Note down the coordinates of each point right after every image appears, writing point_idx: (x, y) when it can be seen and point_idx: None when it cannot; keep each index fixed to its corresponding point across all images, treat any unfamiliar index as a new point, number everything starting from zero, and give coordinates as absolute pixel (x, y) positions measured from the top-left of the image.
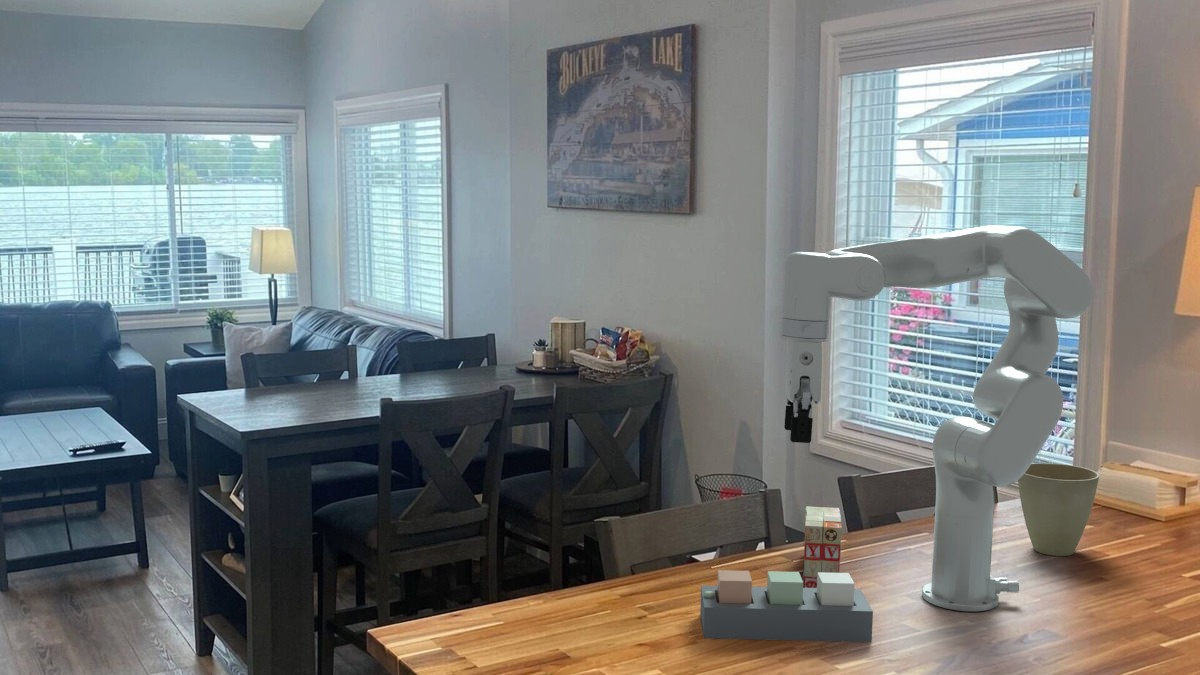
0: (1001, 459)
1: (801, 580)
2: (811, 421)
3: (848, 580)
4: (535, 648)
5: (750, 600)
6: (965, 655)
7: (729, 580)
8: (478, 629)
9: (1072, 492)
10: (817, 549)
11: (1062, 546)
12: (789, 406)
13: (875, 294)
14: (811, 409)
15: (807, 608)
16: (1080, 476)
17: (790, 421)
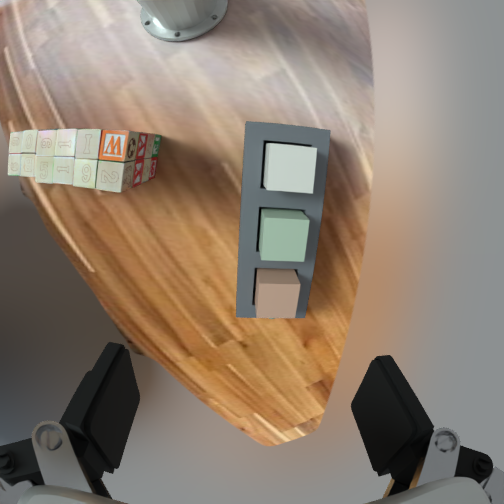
0: None
1: (301, 220)
2: (423, 417)
3: (303, 152)
4: (303, 396)
5: (295, 273)
6: (350, 53)
7: (295, 308)
8: (267, 420)
9: None
10: (137, 167)
11: None
12: (107, 466)
13: None
14: (457, 459)
15: (318, 209)
16: None
17: (129, 412)
